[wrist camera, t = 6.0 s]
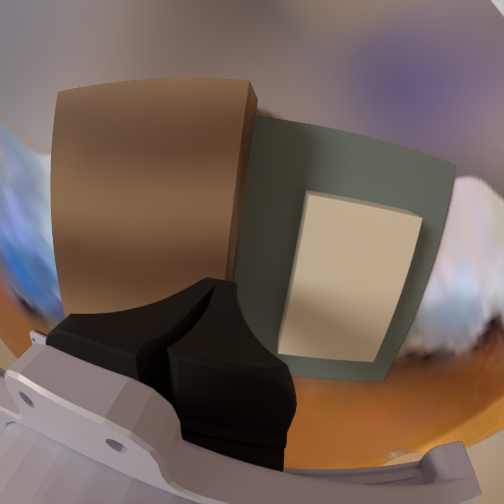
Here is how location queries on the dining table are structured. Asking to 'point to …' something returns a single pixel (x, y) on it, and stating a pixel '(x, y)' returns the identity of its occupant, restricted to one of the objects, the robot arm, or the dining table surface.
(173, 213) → the panel
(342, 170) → the mat
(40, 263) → the dining table surface
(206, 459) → the robot arm
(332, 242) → the beige flat block
